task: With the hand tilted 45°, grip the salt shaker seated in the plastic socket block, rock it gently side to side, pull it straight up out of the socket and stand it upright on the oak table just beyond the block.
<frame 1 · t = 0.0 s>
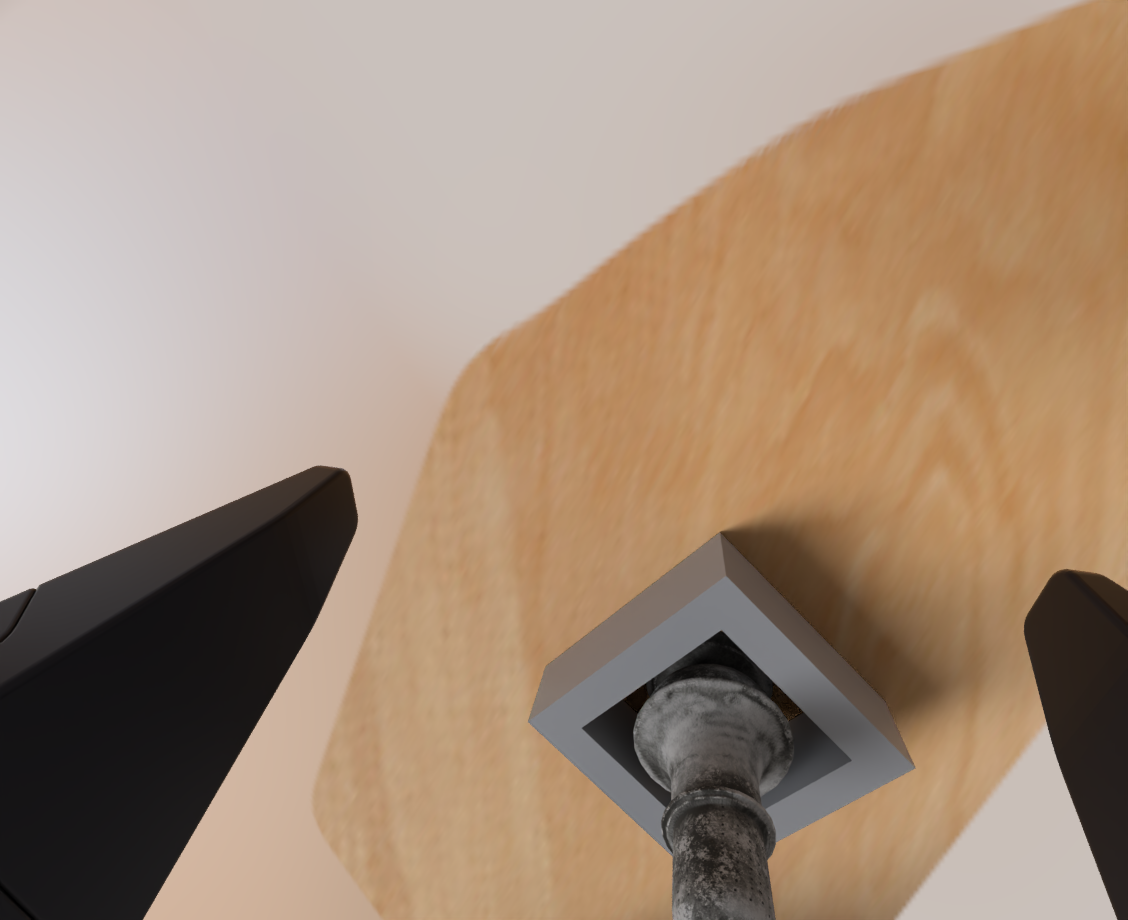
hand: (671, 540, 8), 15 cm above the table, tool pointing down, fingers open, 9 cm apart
salt shaker: (707, 679, 27), resting in socket block
socket block: (708, 683, 27), on the table
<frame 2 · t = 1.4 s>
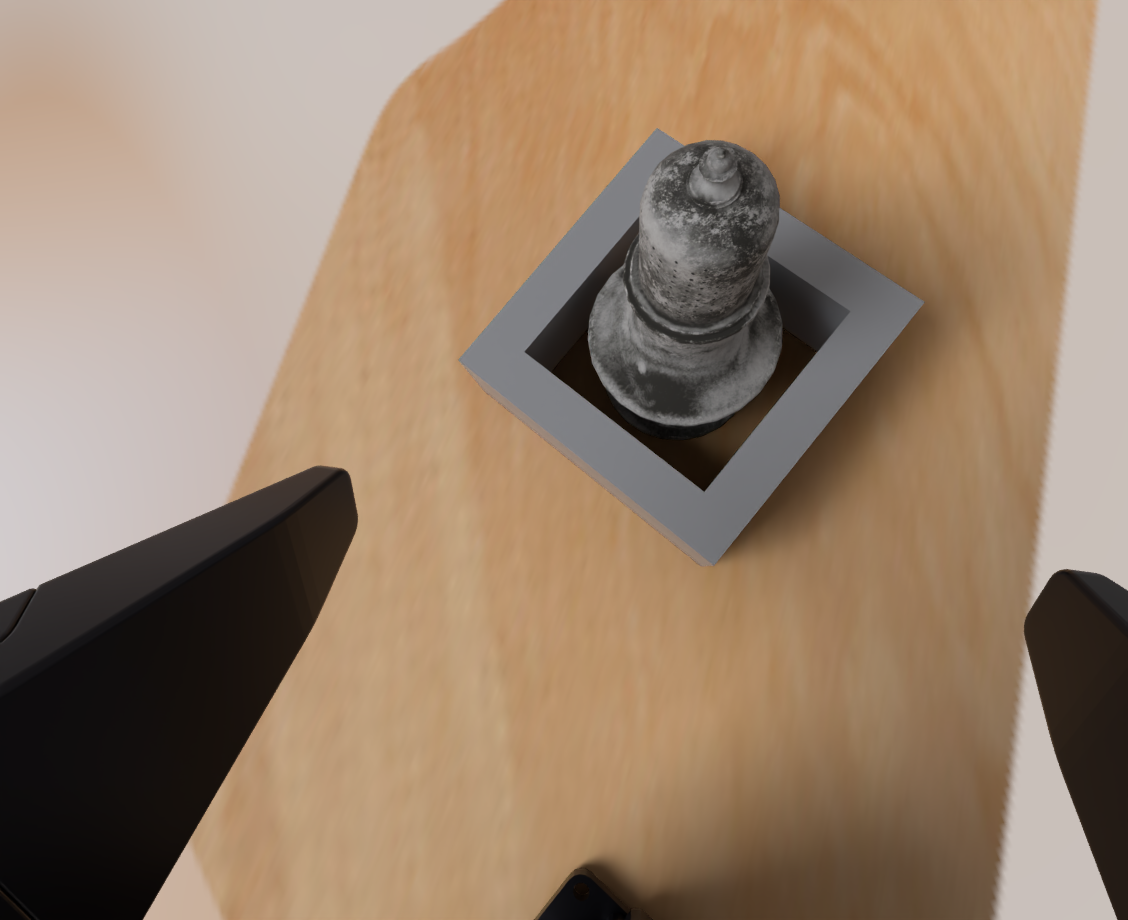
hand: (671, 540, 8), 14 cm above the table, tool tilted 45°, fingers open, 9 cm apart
salt shaker: (675, 370, 23), resting in socket block
socket block: (676, 368, 23), on the table
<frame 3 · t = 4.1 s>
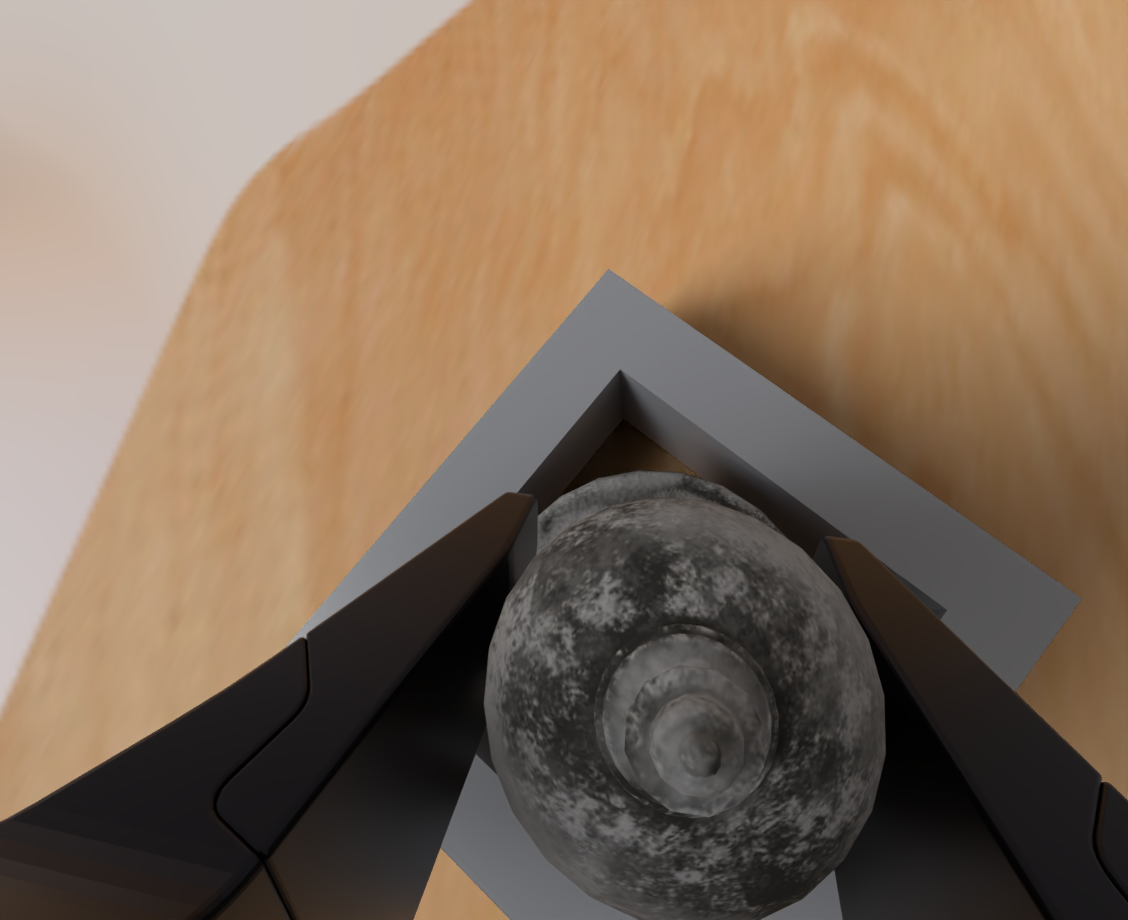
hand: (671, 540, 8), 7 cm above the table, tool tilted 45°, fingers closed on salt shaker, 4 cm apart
salt shaker: (647, 625, 15), resting in socket block, touching gripper
socket block: (647, 625, 14), on the table
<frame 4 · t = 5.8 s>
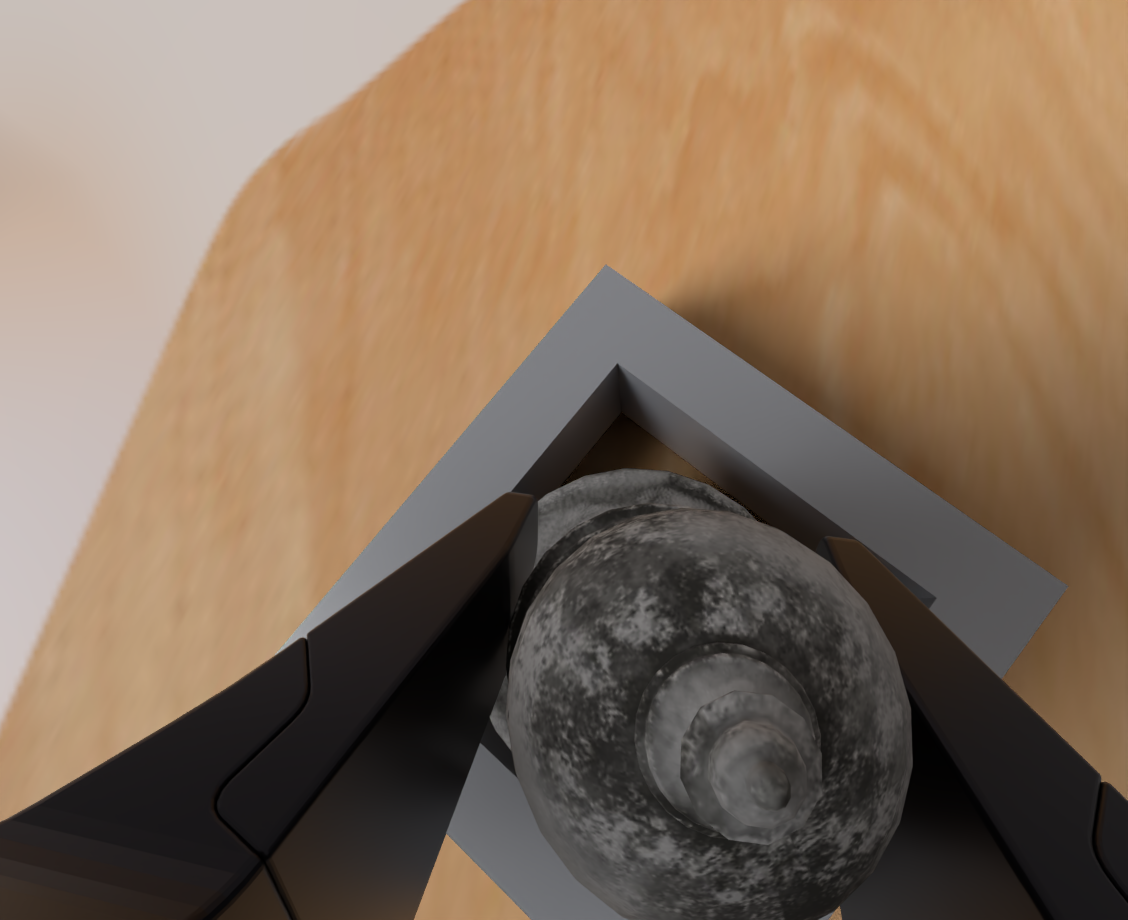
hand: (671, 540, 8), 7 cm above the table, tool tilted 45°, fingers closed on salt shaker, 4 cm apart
salt shaker: (626, 620, 15), resting in socket block, touching gripper
socket block: (645, 615, 15), on the table
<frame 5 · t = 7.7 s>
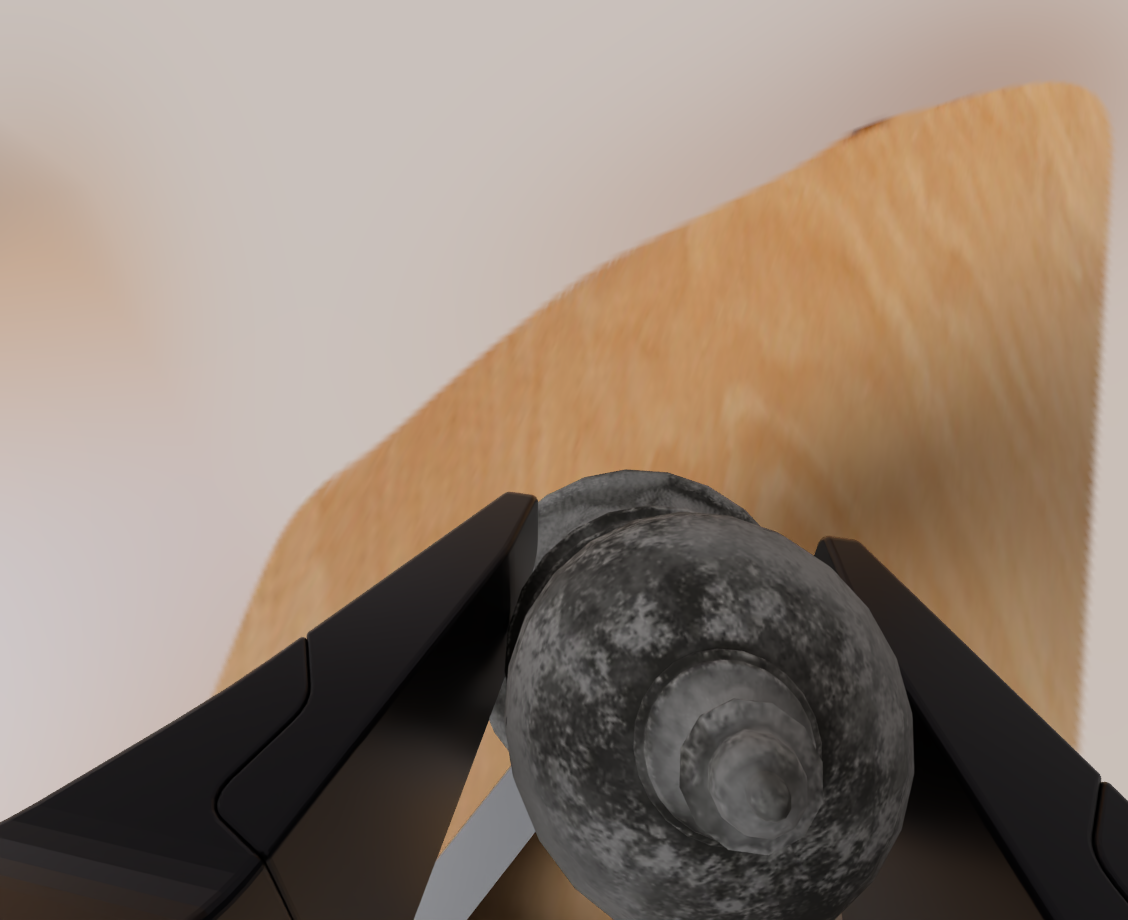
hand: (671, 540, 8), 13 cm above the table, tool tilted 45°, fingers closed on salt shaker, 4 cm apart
salt shaker: (626, 622, 15), point 6 cm above the table, touching gripper
when the fingers open (7 cm above the table, at t = 9.8 s): salt shaker stays where it is, on the table.
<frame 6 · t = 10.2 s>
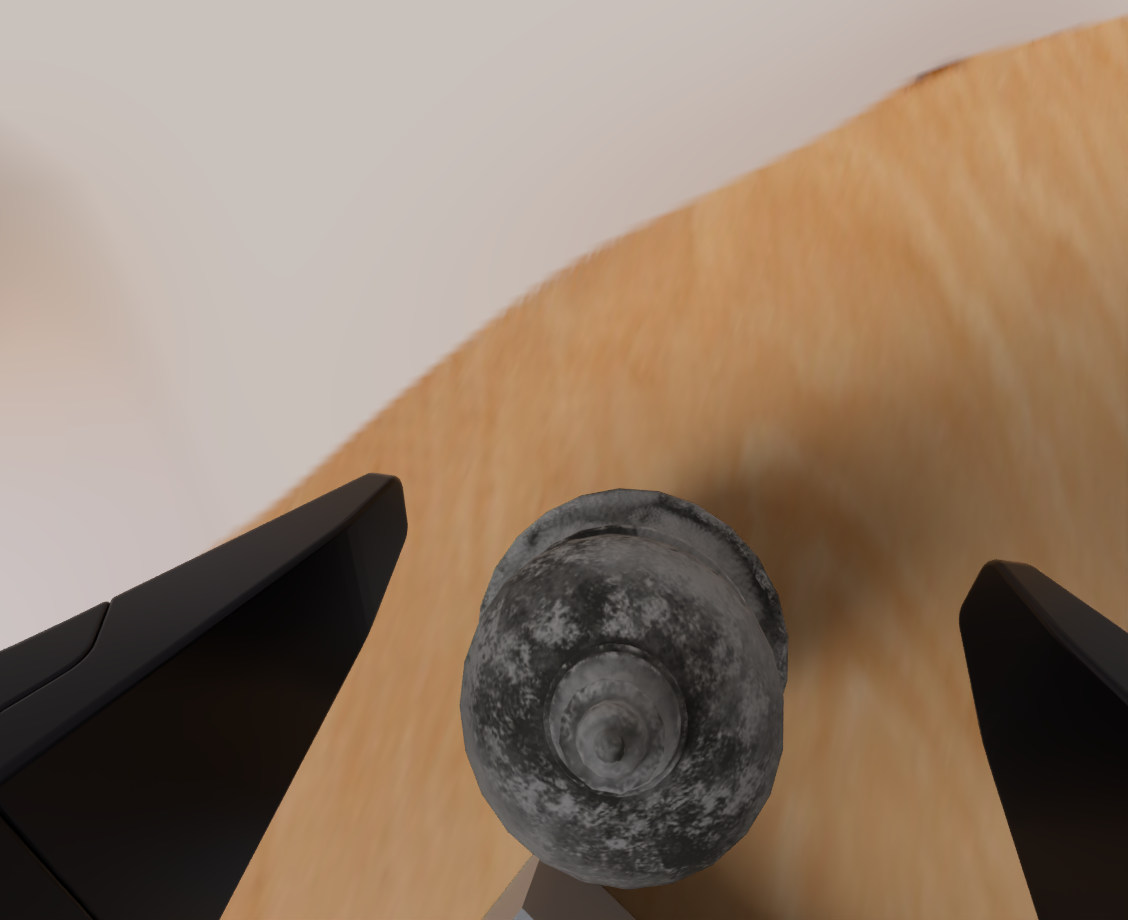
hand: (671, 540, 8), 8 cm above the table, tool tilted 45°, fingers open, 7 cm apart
salt shaker: (630, 630, 15), on the table
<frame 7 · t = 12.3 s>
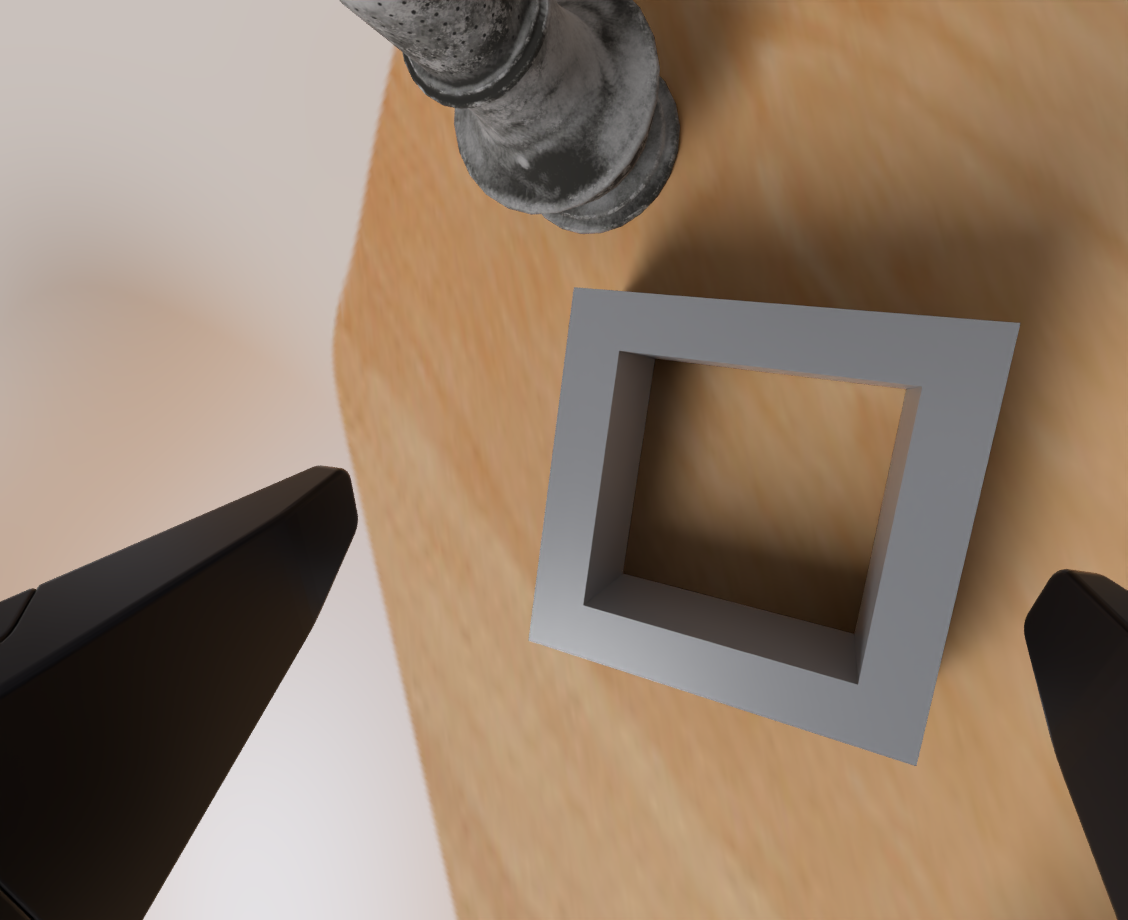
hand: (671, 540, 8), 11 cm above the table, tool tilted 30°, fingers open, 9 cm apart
salt shaker: (598, 149, 20), on the table
socket block: (750, 490, 19), on the table
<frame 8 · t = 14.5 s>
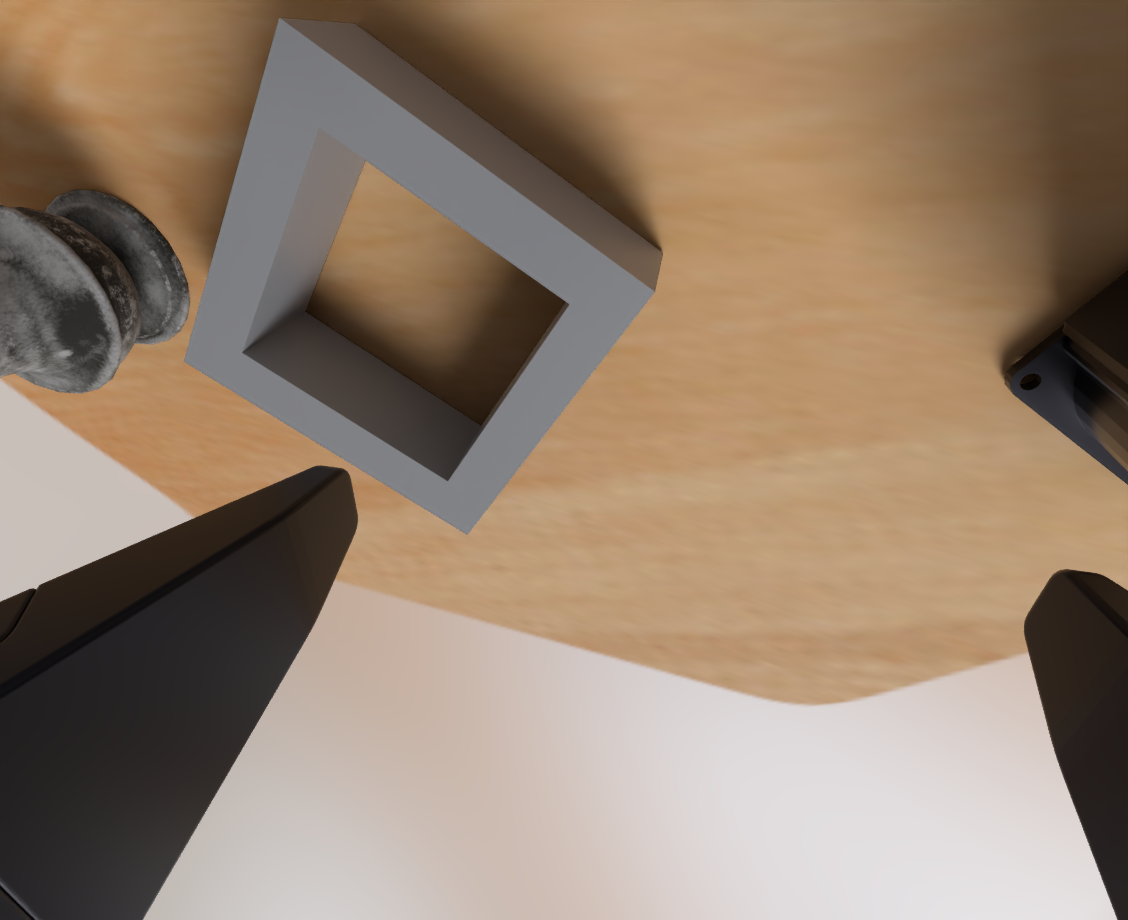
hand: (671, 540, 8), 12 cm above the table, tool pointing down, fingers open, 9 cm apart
salt shaker: (122, 269, 22), on the table
socket block: (438, 289, 20), on the table
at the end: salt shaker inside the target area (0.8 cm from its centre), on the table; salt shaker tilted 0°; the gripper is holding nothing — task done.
